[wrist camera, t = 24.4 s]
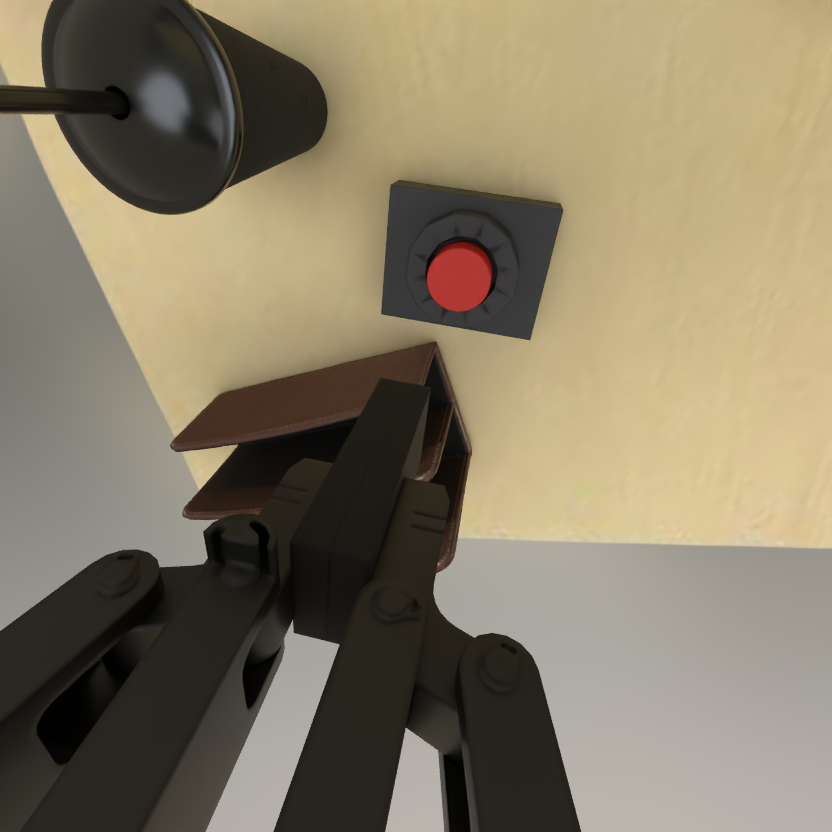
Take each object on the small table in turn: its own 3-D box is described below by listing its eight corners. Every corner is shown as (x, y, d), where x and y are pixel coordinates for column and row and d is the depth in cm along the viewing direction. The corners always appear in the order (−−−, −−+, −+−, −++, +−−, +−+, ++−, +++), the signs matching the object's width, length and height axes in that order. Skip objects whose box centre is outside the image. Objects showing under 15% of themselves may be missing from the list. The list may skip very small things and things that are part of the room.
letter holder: (474, 449, 39) (452, 591, 28) (270, 483, 46) (182, 610, 34) (437, 338, 35) (394, 450, 23) (218, 392, 41) (96, 502, 30)
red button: (497, 246, 28) (496, 253, 26) (486, 306, 30) (484, 316, 28) (435, 236, 28) (430, 243, 26) (428, 296, 30) (423, 306, 28)
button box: (560, 203, 29) (565, 214, 26) (529, 328, 33) (530, 351, 30) (398, 180, 30) (382, 188, 27) (388, 303, 34) (374, 323, 31)
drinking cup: (315, 204, 32) (84, 302, 15) (212, 128, 31) (-164, 143, 14) (374, 86, 28) (147, 42, 11) (258, -6, 27) (-194, -214, 10)
